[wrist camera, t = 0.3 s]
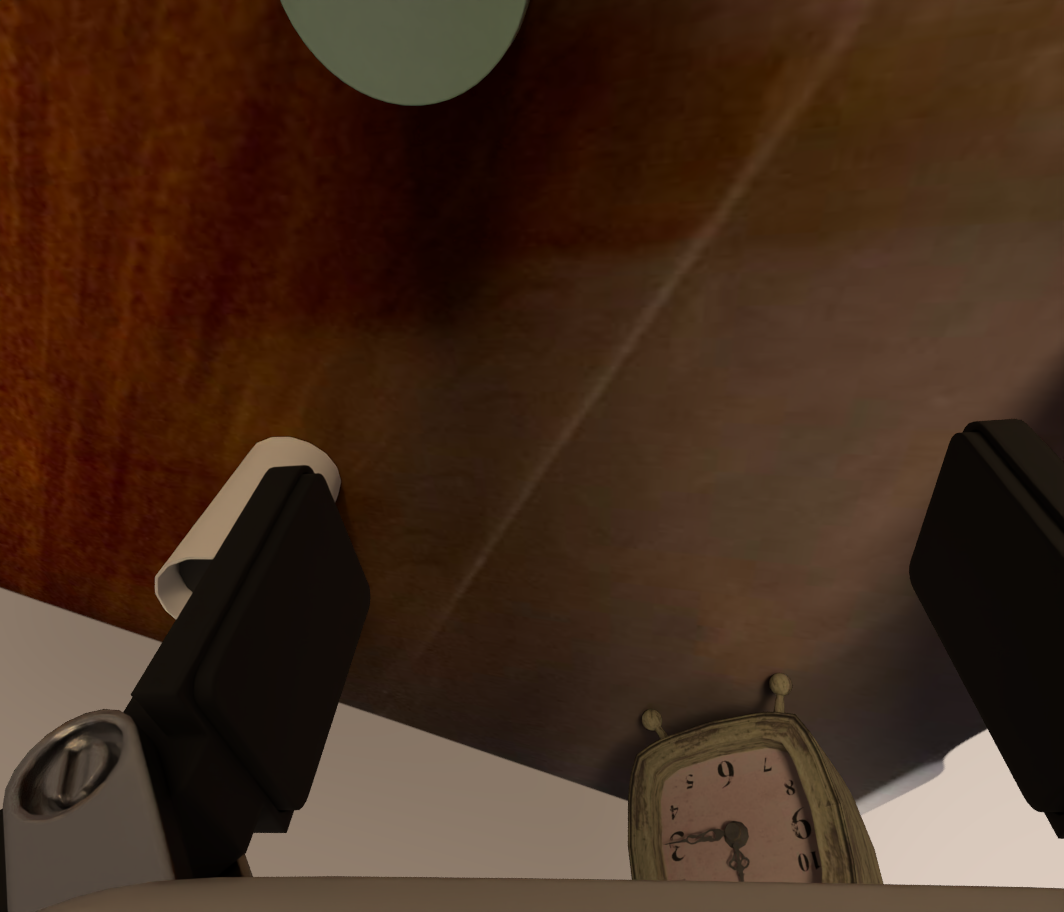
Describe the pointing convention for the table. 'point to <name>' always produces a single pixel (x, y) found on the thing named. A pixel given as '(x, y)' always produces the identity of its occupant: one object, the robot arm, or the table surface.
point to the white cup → (232, 515)
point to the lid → (408, 43)
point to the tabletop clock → (744, 805)
